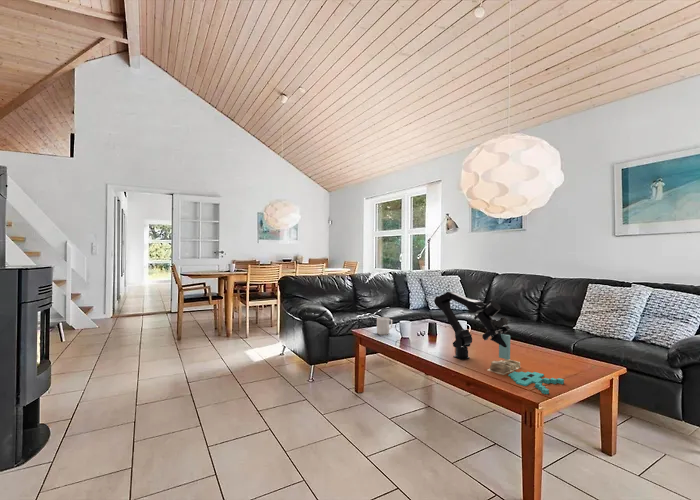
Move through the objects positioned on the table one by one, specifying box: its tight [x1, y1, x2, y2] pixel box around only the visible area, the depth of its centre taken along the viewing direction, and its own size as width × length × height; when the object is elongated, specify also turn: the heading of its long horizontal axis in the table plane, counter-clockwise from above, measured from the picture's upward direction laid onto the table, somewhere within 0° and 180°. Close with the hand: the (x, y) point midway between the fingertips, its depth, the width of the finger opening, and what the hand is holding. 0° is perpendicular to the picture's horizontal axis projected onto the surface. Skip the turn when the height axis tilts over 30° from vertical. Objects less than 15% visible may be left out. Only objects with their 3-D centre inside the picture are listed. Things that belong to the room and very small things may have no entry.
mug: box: [376, 316, 393, 336], centre depth 265 cm, size 12×9×11 cm
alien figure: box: [507, 370, 565, 395], centre depth 173 cm, size 20×2×20 cm
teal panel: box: [498, 333, 511, 360], centre depth 188 cm, size 5×2×12 cm, turn 40°
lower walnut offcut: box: [489, 365, 508, 374], centre depth 185 cm, size 7×4×2 cm, turn 40°
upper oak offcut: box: [490, 360, 506, 369], centre depth 185 cm, size 6×4×2 cm, turn 46°
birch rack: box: [487, 358, 522, 376], centre depth 189 cm, size 9×18×4 cm, turn 130°
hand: (507, 346), depth 187 cm, fingers closed on teal panel, 2 cm apart
